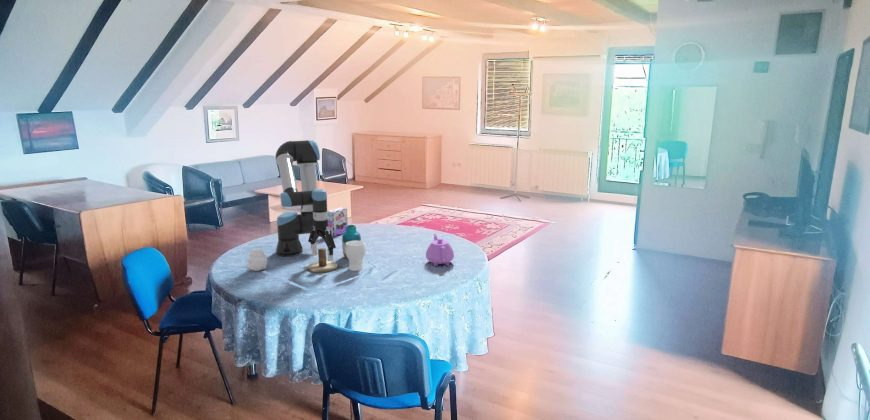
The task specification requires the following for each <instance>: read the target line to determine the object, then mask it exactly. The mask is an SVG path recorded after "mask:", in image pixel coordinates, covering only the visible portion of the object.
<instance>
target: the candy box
mask: <svg viewBox="0 0 870 420" xmlns="http://www.w3.org/2000/svg"><path fill="white" fill-rule="evenodd" d="M327 212H328V218H327V219H328V226H327V230H331V234H332V237H337V236H340V235H343V234H344V233H345V232H346V226H347V225H349V224H348V208H346V207H337V208H334V209H331V210H327Z"/></svg>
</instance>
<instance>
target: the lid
mask: <svg viewBox="0 0 870 420" xmlns="http://www.w3.org/2000/svg"><path fill="white" fill-rule="evenodd" d="M317 256H318V261H315V262H312V263H310V264H308V265H307V266H308V269H309V270H310V271H312V272H311V273H313V272H318V273H322V272H328V273H330V272H329V271H331V272H334V271H336V270H335V269H336V268H337V265H338V263H336V262H335V261H333V260H332V261H328V260H327V249H326V248H324V247H322V248H317ZM333 270H334V271H333ZM310 271H309V272H310Z"/></svg>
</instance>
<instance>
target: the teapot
mask: <svg viewBox="0 0 870 420" xmlns="http://www.w3.org/2000/svg"><path fill="white" fill-rule="evenodd" d="M425 252H426V253H425V258H426V260H427V261H428V262H429V263H432V266H433V265H434V266H433V267H438V266H437V265H439V264H440V265H441V264H442V265H443V264H444V265H445V266H449V264H450V262H452V261H453V260H454V258H455V252H454V250H453V247H452V245H451V244H450V242H449V241H447V240H444V239H443V238H440V237H439V238H438V236H437V234H436V233H433V240H432V241H431V242H430V244H429V246H428V247H427V248H426V251H425Z"/></svg>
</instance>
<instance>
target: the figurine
mask: <svg viewBox="0 0 870 420" xmlns="http://www.w3.org/2000/svg"><path fill="white" fill-rule="evenodd" d="M267 258H268V257H267V256H266V254H265V251H264V250H263V249H262V247H261V246H260V247H259V248H253V249H251V251H250V253H249V258H246V261H247V262H248V263H247V264H246V267H247V269H248V270H249V271H253V272H260V271H262V270H265V269H267V265H268V259H267Z"/></svg>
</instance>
